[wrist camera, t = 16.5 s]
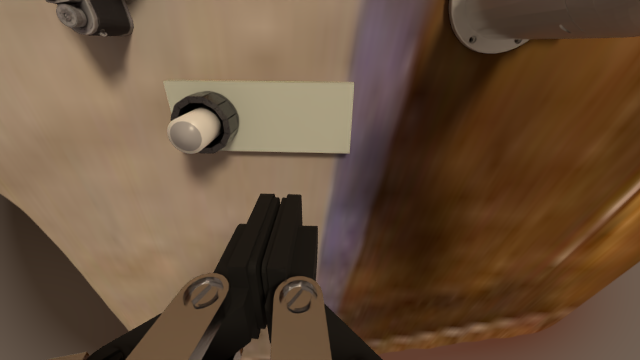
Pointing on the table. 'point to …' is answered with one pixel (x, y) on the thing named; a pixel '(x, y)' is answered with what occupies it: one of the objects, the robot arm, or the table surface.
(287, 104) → the board
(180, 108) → the black faceted cup
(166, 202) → the table surface
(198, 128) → the cylinder
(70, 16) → the camera
